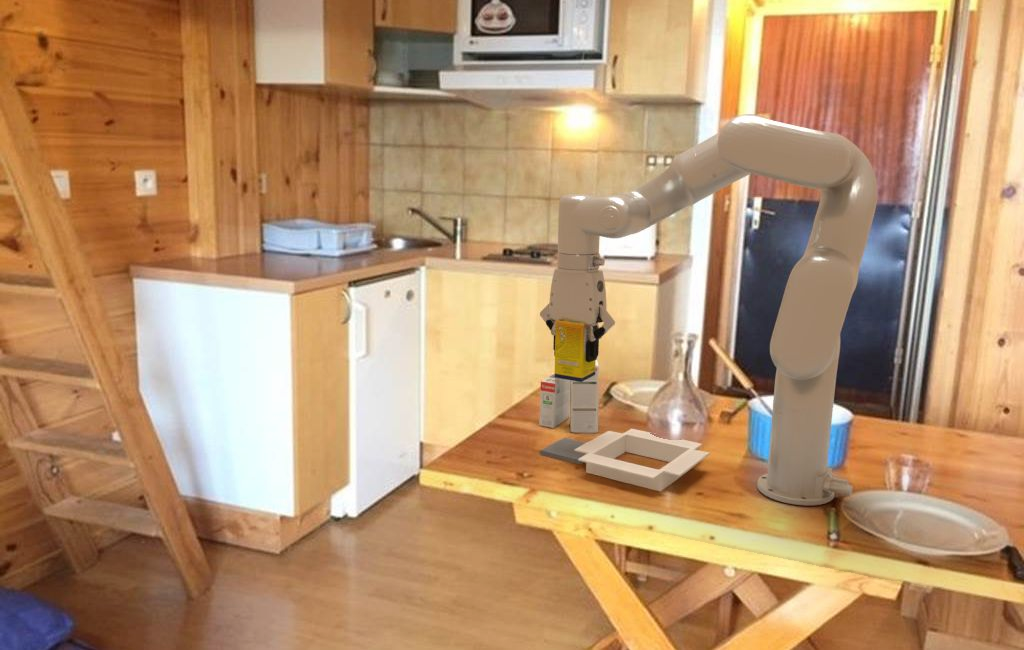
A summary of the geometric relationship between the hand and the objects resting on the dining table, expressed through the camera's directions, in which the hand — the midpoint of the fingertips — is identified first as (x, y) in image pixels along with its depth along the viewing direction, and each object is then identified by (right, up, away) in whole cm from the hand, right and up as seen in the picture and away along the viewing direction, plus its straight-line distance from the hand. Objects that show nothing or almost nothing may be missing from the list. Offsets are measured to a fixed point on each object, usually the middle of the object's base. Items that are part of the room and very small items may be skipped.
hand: (575, 357), depth 160 cm
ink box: (-3, -15, +22) cm, 27 cm away
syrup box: (+3, -16, +18) cm, 24 cm away
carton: (+12, -20, -4) cm, 24 cm away
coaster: (0, -18, +4) cm, 19 cm away
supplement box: (0, -4, +1) cm, 4 cm away
